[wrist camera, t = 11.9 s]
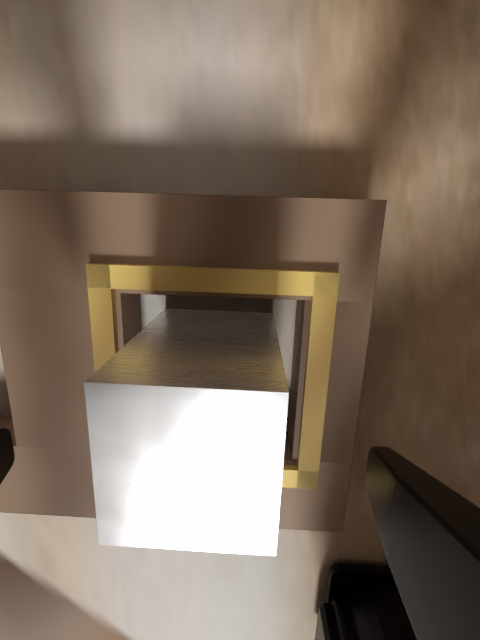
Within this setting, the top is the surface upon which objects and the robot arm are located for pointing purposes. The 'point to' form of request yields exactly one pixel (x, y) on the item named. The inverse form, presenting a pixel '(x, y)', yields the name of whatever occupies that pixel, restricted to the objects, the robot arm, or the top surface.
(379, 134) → the top surface
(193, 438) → the white rectangular block
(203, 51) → the top surface
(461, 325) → the top surface
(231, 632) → the top surface
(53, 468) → the rail plate
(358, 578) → the robot arm
